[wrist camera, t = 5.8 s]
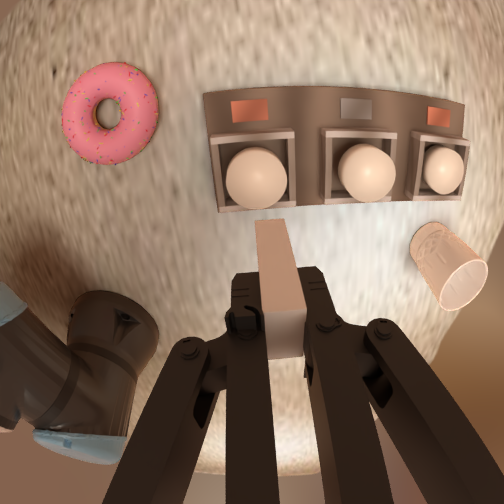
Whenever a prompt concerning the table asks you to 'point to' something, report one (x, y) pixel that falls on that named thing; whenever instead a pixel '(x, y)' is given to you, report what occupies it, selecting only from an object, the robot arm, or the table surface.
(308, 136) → the panel
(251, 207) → the button near
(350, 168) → the button mid
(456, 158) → the button far
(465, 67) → the table surface
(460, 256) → the tan paper cup
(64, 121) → the doughnut
